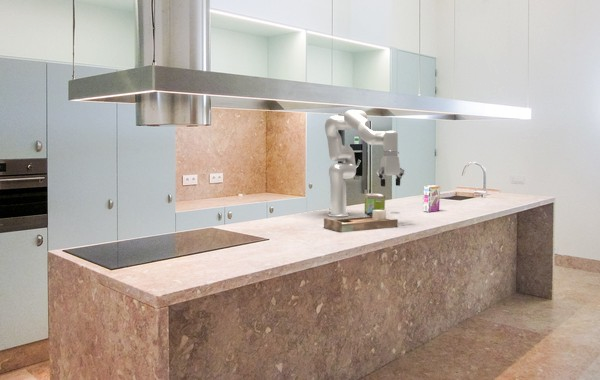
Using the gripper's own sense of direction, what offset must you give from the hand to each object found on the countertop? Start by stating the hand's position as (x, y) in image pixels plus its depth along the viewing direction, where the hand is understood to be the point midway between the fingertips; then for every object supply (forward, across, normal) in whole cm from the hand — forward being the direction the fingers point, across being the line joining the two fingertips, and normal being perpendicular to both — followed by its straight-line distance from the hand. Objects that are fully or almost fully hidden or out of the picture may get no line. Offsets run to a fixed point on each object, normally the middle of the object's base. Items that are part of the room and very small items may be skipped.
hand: (390, 185), depth 277 cm
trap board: (+20, +20, +2) cm, 29 cm away
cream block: (+18, +6, -2) cm, 19 cm away
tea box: (+21, 0, -15) cm, 26 cm away
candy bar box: (+20, -54, -30) cm, 65 cm away
